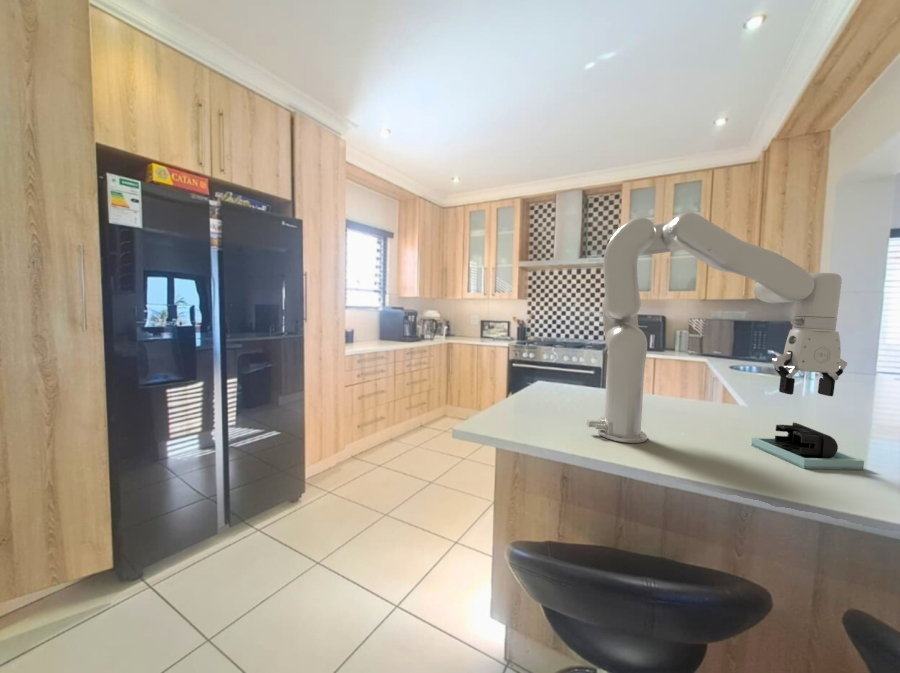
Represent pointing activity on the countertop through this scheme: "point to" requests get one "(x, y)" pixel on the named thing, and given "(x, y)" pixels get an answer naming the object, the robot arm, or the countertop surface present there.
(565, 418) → the countertop surface
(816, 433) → the end cap
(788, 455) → the tray
